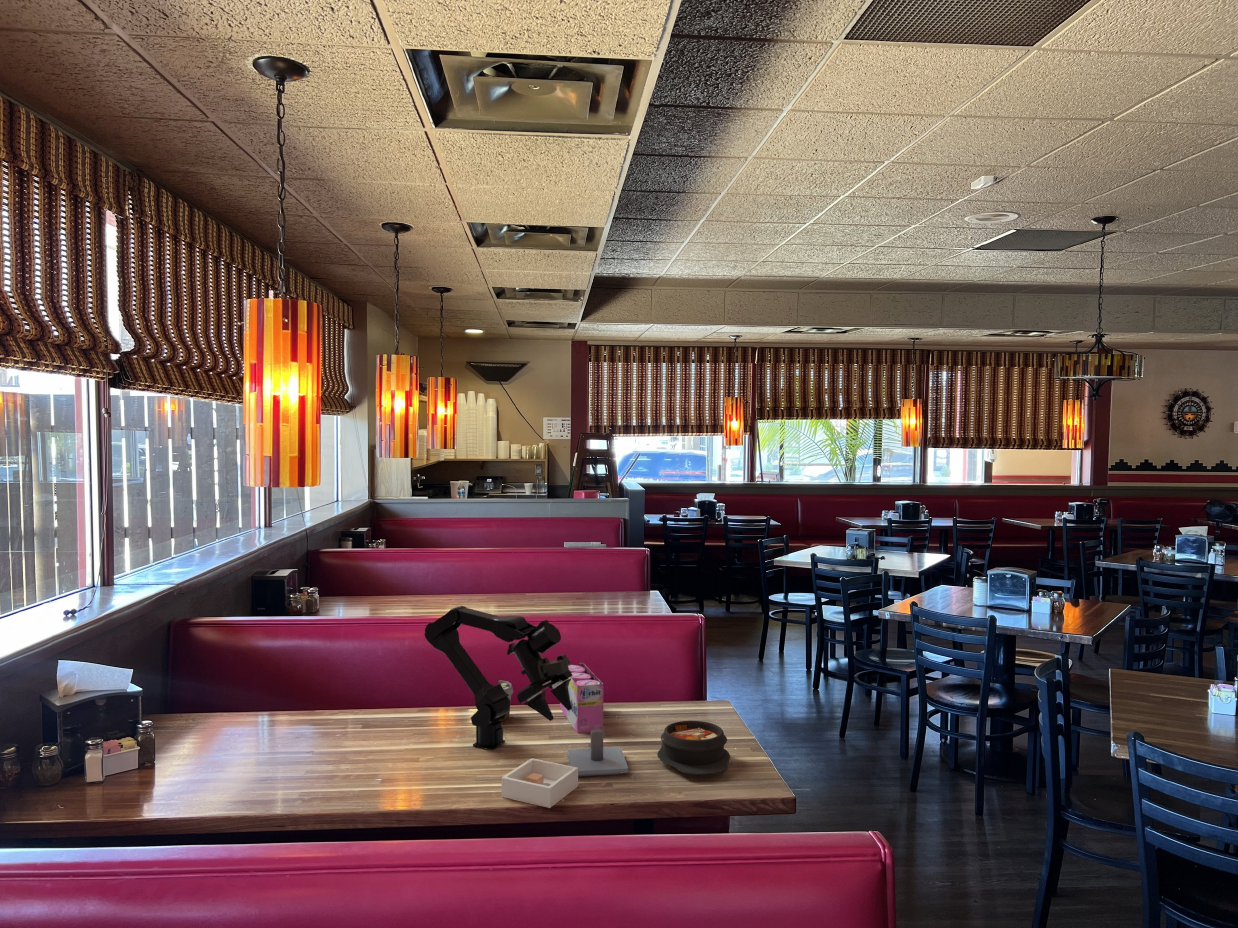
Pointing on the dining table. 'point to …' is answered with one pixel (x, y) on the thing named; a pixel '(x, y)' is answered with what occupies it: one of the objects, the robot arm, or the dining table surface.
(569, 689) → the gum box
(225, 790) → the dining table surface
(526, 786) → the crate
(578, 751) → the lid
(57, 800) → the dining table surface
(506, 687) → the food container
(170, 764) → the dining table surface
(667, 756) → the casserole
